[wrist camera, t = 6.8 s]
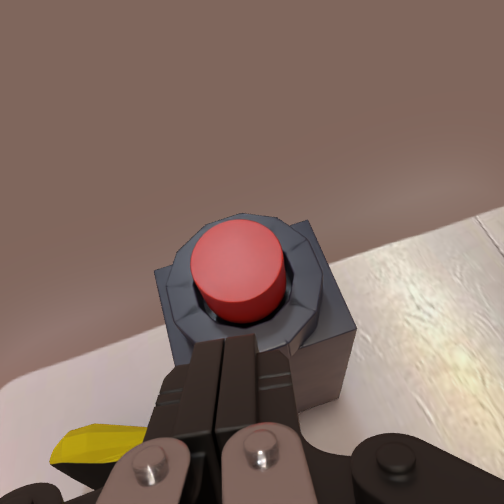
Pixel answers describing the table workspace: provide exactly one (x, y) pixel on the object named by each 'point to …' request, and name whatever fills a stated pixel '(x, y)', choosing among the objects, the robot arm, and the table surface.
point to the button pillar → (279, 321)
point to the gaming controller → (94, 451)
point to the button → (239, 270)
